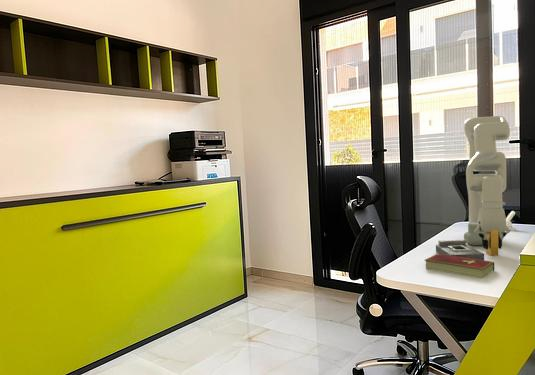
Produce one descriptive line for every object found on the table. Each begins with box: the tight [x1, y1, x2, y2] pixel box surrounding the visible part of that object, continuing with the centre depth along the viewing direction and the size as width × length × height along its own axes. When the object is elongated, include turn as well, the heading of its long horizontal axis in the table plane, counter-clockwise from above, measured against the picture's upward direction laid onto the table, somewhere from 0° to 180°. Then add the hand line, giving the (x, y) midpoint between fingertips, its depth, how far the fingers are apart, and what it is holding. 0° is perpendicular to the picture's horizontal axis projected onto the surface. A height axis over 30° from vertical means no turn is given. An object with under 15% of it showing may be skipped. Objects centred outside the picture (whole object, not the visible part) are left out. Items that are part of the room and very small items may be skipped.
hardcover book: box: [424, 253, 496, 279], centre depth 154 cm, size 12×21×4 cm, turn 44°
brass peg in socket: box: [485, 230, 499, 257], centre depth 172 cm, size 4×3×11 cm, turn 175°
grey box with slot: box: [435, 239, 485, 260], centre depth 172 cm, size 18×13×5 cm
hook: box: [506, 210, 517, 232], centre depth 220 cm, size 8×12×7 cm
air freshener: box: [463, 222, 482, 246], centre depth 190 cm, size 11×8×10 cm
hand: (492, 247), depth 172 cm, fingers open, 4 cm apart
